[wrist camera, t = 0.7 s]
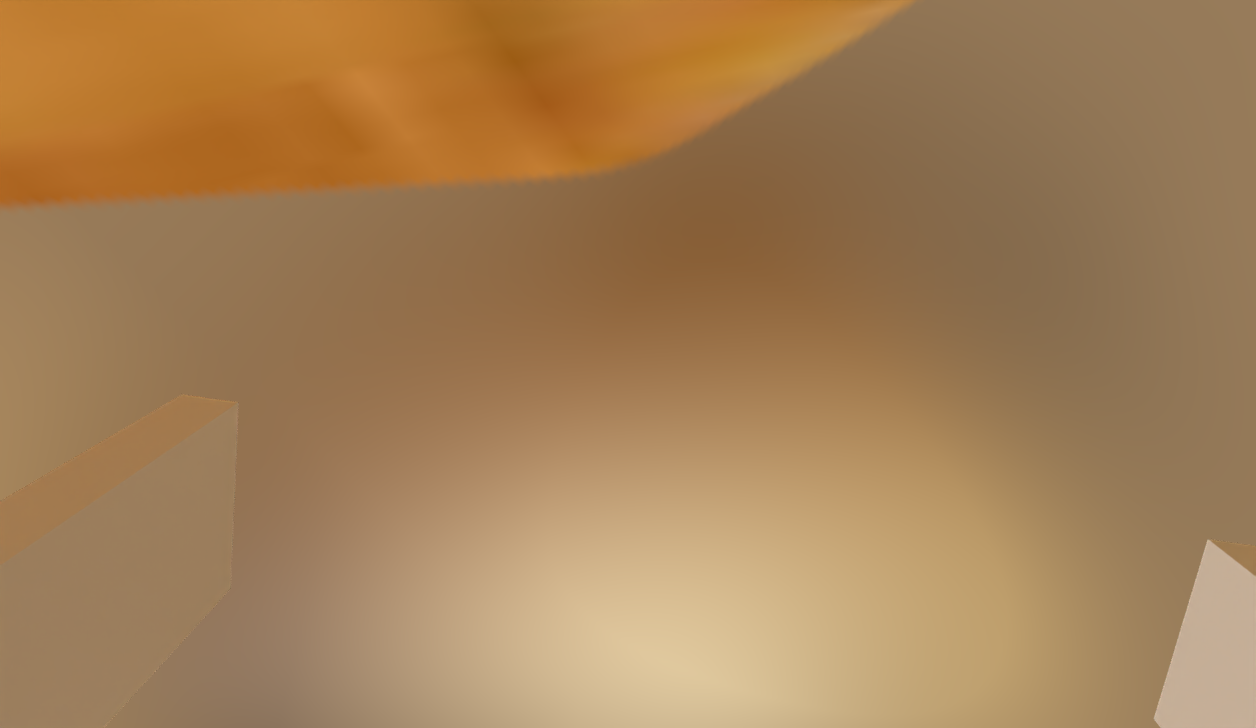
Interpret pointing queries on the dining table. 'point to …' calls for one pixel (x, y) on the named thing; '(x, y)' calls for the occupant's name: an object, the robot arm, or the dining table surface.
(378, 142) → the dining table surface
